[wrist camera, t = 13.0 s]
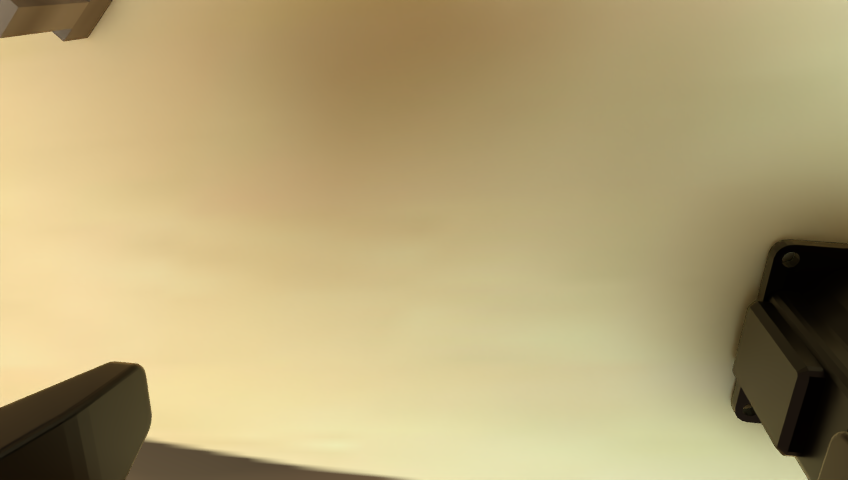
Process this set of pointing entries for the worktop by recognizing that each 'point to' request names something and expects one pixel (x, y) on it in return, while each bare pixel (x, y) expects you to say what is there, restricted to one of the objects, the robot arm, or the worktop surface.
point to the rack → (51, 17)
